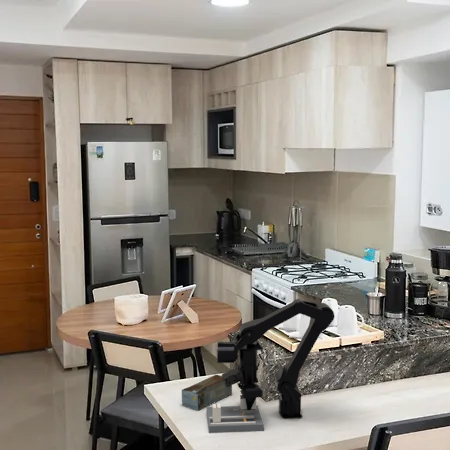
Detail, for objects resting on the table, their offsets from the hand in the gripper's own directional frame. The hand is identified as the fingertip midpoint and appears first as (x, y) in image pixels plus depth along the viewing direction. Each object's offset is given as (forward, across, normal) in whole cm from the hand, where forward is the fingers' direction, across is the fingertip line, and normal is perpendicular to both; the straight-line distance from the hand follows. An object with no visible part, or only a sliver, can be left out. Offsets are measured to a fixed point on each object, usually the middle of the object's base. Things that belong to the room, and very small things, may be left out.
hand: (248, 408), depth 205 cm
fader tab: (0, +9, -11) cm, 14 cm away
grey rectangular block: (0, 0, 0) cm, 0 cm away
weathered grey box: (+3, -15, -12) cm, 19 cm away
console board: (+2, +4, -5) cm, 7 cm away
